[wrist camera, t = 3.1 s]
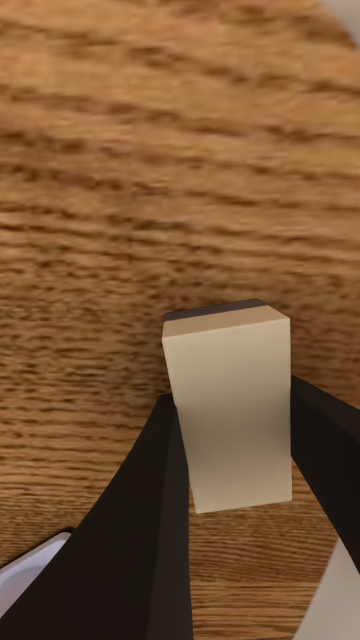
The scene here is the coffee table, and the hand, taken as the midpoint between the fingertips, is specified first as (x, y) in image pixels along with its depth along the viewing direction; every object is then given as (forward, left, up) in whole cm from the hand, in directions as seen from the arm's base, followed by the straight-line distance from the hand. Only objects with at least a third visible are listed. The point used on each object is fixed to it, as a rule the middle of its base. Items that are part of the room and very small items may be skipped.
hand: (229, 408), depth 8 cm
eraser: (0, 0, -1) cm, 1 cm away
